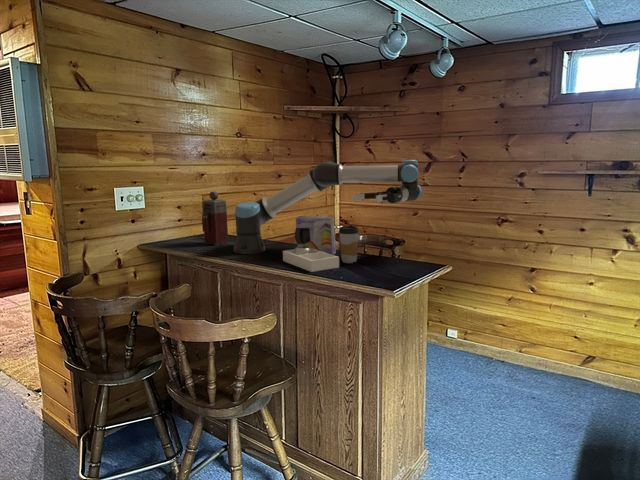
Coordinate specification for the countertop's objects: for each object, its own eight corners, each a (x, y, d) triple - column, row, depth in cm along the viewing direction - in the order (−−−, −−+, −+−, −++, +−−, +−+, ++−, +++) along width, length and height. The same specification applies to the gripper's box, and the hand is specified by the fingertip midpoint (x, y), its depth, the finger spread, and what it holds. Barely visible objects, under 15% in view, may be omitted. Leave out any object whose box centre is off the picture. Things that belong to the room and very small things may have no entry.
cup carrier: (283, 260, 211) (282, 250, 210) (308, 257, 217) (308, 247, 217) (311, 272, 190) (311, 260, 189) (339, 267, 196) (339, 256, 195)
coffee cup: (349, 258, 212) (349, 225, 210) (362, 261, 206) (362, 227, 203) (335, 261, 207) (335, 227, 204) (348, 264, 201) (348, 229, 198)
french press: (201, 245, 253) (197, 192, 248) (216, 241, 263) (213, 190, 258) (214, 246, 249) (210, 192, 244) (228, 242, 258) (225, 190, 253)
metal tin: (292, 259, 210) (292, 247, 209) (306, 257, 213) (305, 246, 212) (300, 261, 204) (299, 250, 203) (314, 259, 207) (313, 248, 206)
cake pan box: (294, 253, 226) (293, 216, 223) (299, 251, 231) (298, 215, 228) (332, 256, 218) (331, 217, 215) (336, 254, 223) (335, 216, 220)
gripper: (418, 204, 213) (386, 208, 200) (376, 201, 232) (345, 205, 218) (418, 187, 212) (386, 190, 198) (376, 185, 230) (344, 188, 217)
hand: (364, 198), depth 208 cm, fingers open, 13 cm apart
